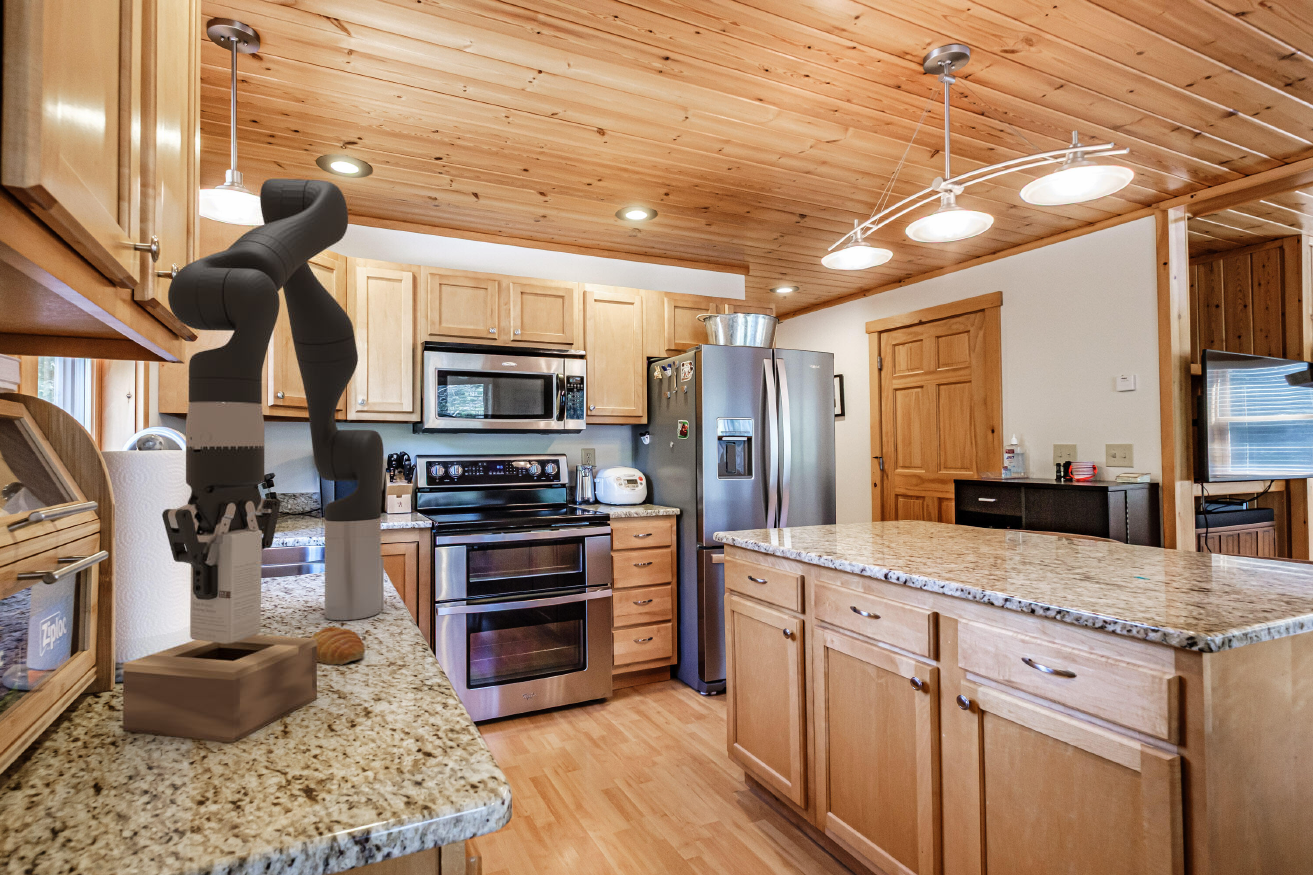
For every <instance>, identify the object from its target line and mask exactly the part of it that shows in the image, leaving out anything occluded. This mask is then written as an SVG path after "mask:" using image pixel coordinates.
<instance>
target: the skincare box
mask: <svg viewBox="0 0 1313 875" xmlns="http://www.w3.org/2000/svg"><path fill="white" fill-rule="evenodd" d="M211 535H213V534H210V533H207V532H206V533H204V534H203V536H211ZM262 538H263V531H262V530H261V531H260V530H249V529H246V528H245V529H242V530H236V531H231V532H228V533H227V534H225V535H223V542H222V544H220V546H219V552H218V556H217V560H216V562H215V564H214V565H218V595H217V597H216V598H214V599H210V600H201V599H197V598H196V595H194V592H193V567H192V565H191V564H190V608H189V609H190V613H189V614H190V619H189V620H190V623H189V624H190V626H189V632H190V633H189V636H190V639H191V640H202V641H209V642H217V643H224V644H228V643H233V642H237V641H240V640H243V639H246V638H249V637H251V636H254V635H259V633H261V626H262V625H261V622H262V620H261V619H262V618H261V616H262V611H261V610H262V608H261V606H262V559H263V556H262V551H263V550H262ZM207 545H208V544H206V546H205V549H204V553H205V552H206V549H207Z"/></svg>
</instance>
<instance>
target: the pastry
mask: <svg viewBox="0 0 1313 875" xmlns="http://www.w3.org/2000/svg"><path fill="white" fill-rule="evenodd" d="M310 638H314V639H317V663H321V664H325V665H331V666H334V665H340V666H342V665H344V664H348V663H349V662H351V661H357V660H361V659H362V658H363V656H364V655H365V652H366V650H365V643H364V642H363V640H362V638H361V637H360V635H359V634H357V633H356V632H355V631H354V630H351V629H348V628H341V627H337V626H328V627H324V628H322V629H320V630H318V632H317V631H316V632H314V634H313V635H312V636H311V637H310Z"/></svg>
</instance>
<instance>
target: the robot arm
mask: <svg viewBox="0 0 1313 875" xmlns="http://www.w3.org/2000/svg"><path fill="white" fill-rule="evenodd" d="M259 200H260V211H261V216H262V220H263V224H262V225H259V226H256V227H254V228H252V229H251V230H249V231H247V232H245V233H244V234H242V235H241V236H240V237H239V238H237V239H236V240H235V242H233V243H232V244H231V245H230V246H229V247H228V248H227V249H226V250H223V251H219V252H216V253H212V254H210V255H207V256H205V257H202V258H199V259H197V260H194V261H192V262H190V263H188V264H187V265H185V266H183V267H182V268H181V269H180V270H178V271H177V273H175V275H174V277H173V278H172V279H171V282H170V284H169V287H168V292H167V293H168V294H167V300H168V305H169V309H170V310H171V312H172V314H173V316H174V317H175V318H176V319H177V320H178V321H179V322H180V323H181V324H183V325H184V326H186V327H189V328H190V329H194V330H199V331H226V332H228V331H233V333H232V335H231V337H230V338H229V340H228V341H227V343H226V344H223V345H222V346H220V347H216V348H212V349H205V350H202V351H199V352H196V353H194V354H193V355H192V356H191V357H190V359H189V364H188V408H187V414H186V421H185V482H186V484H187V485H188V486H189V487H190V489H191V493H190V497H189V498H188V500H187V503H186V504H185V505H182V506H179V507H178V508H166V509H164V510H163V511H162V514H161V515H162V516H161V517H162V521H163V525H164V528H165V531H166V535H167V540H168V543H169V547H170V550H171V556H172V558H173V561H175V562H177V563H185V564H189V565H190V566H191V565H192V567H193V592H194V595H196V598H197V599H201V600H210V599H214V598H216V597H217V595H218V565H214V564H215V562H216V560H217V556H218V552H219V546H220V544H222V542H223V535H225V534H227V533H228V532H231V531H236V530H242V529H249V530H260V531H262V530H263V529H264V530H263V533H262V551H263V550H265V549H269V548H271V547H272V546H273V542H274V536H275V534H276V533H275V532H276V528H277V522H278V518H279V514H280V509H281V508H280V507H281V501H280V499H278V498H263V497H262V496H261V495H262V494H261V493H260V491H259V485H260V484H262V483H263V482H264V481H265V420H264V414H263V405H262V404H263V383H262V382H263V368H264V365H265V363H264V362H265V359H266V355H267V352H268V348H269V344H270V341H271V338H272V334H273V332H274V329H275V326H276V325H277V320H278V317H279V313H280V301H281V300H280V295H279V291H280V290H281V289H283V290H282V291H283V295H284V300H285V303H286V308H287V315H288V320H289V326H290V331H291V337H292V343H293V347H294V348H293V349H294V351H295V356H296V359H297V363H298V368H299V372H300V377H301V380H302V384H303V389H304V394H305V399H306V405H307V406H306V407H307V412H308V419H309V421H308V422H309V430H310V436H311V437H310V438H311V446H312V447H311V448H312V454H313V459H314V463H315V464H314V465H315V468H316V470H317V474H318V476H320V478H322V479H323V480H325V481H331V482H335V481H336V482H345V481H346V482H351V481H352V482H356V481H357V487H356V489H355V490H354V491H353V492H352V493H350V494H348V495H347V496H345V497H342V498H339V499H337V500H334V501H331V502H328V503H327V504H326V505H325V507H324V618H326V619H327V620H330V621H352V620H359V619H366V618H370V617H374V616H376V615H378V614H381V612H382V609H384V606H385V605H384V602H385V600H384V594H385V593H384V588H385V587H384V581H385V580H384V576H385V575H384V573H385V572H384V561H385V560H384V558H383V556H382V531H381V530H382V527H381V525H382V518H381V517H382V515H381V514H382V512H381V511H382V499H383V472H384V471H383V470H384V454H385V453H384V443H383V439H382V436H381V435H380V433H379V432H378V431H376V430H374V429H373V430H372V429H338V427H337V423H336V411H337V406H338V404H339V402H340V401H341V400H340V399H341V397H342V396H343V394H344V392H345V390H346V388H347V386H348V385H349V382H350V381H351V379H352V377H354V376H353V375H354V374H355V372H356V369H357V366H358V362H359V355H358V348H357V343H356V342H357V341H356V337H355V330H354V326H353V322H352V321H351V319H350V317H349V315H348V314H347V312H346V311H345V310H344V309H343V307H342V306H341V305H340V304H339V302H338V301H337V300H336V299H335V298H334V297H333V295H332V294H331V293H330V292H329V291H328V290H327V289H326V288H325V287H324V286H323V284H322V283H321V282H320V281H319V279H318V278H317V276H315V273H314V272H313V270H312V268H311V267H310V264H309V261H310V260H311V259H312V258H314V257H315V256H317V255H319V254H320V253H323V251H325V250H326V249H329V248H330V247H331V246H333V245H335V244H337V243H339V242H340V241H341V240H342V239H344V237H345V234H346V233H347V229H348V226H349V225H348V224H349V213H348V211H349V210H348V206H347V202H346V199H345V195H344V194H343V192H342V191H341V189H340V188H339V187H338V186H337V185H336V184H334V183H332V182H330V181H327V180H326V181H325V180H320V179H295V178H269V179H266V180H265V181H264V182H263V183H262V185H261V188H260V194H259ZM206 532H207V533H210V534H213V535H211V536H203V534H204V533H206ZM206 544H208V545H207V549H206V552H205V553H204V549H205V546H206Z"/></svg>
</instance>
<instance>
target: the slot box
mask: <svg viewBox="0 0 1313 875" xmlns="http://www.w3.org/2000/svg"><path fill="white" fill-rule="evenodd" d="M122 665H123V666H122V667H123V669H122V670H123V672H122V678H123V680H122V682H123V683H122V696H123V697H122V706H123V707H122V731H123V732H125V733H126V732H128V733H129V732H130V733H136V734H137V733H139V734H147V735H155V736H167V737H176V738H183V739H186V738H187V739H192V740H194V739H195V740H203V741H211V742H212V741H213V742H223V743H231V744H234V743H236V742H238V741H240V740H242V739H243V738H245V737H247V736H249V735H251V734H253V733H255V732H257V731H258V730H259V731H260V729H262V728H264V727H267V726H268V725H270V724H272V723H274V722H276V721H278V720H279V719H282V718H283V717H285V716H287V715H289V714H292V713H293V712H295V711H297V710H298V709H301V708H303V707H305V706H306V705H308V704H310V703H312V702H315V700H318V662H317V639H314V638H311V637H295V636H280V635H266V634H265V635H264V634H256V635H254V636H251V637H249V638H246V639H243V640H240V641H237V642H233V643H228V644H224V643H217V642H209V641H202V640H195V639H193V640H192V641H188V642H186V643H182V644H179V645H176V646H172V647H169V648H167V649H164V650H160V651H158V652H154V653H151V654H149V655H146V656H143V657H139V658H136V659H133V660H129V661H126V662H124V663H122Z"/></svg>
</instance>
